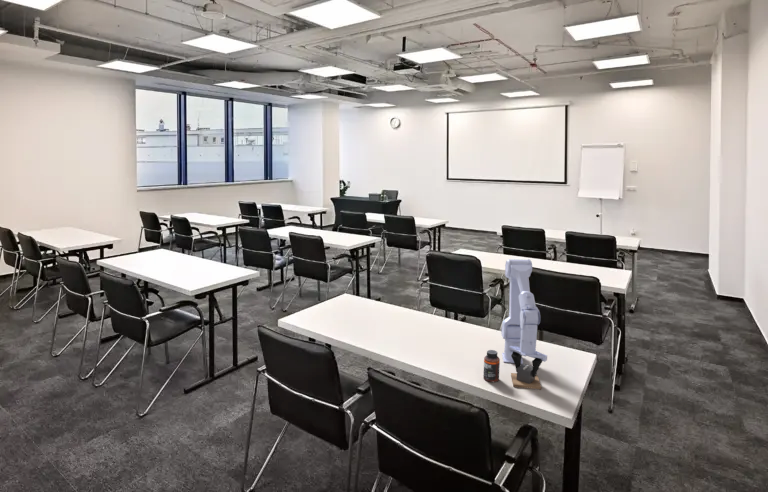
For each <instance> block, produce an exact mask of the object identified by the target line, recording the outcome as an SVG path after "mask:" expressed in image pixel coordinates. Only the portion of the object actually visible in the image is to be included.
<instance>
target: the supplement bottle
mask: <svg viewBox="0 0 768 492" xmlns="http://www.w3.org/2000/svg"><path fill="white" fill-rule="evenodd" d="M483 358H484V359H483V379H484V380H485V381H486V382H489V383H490V382H491V383H496V382H498V381H499V379H500V364H501V361H500V360H501V359H500V357H499V356H498V351H497V350H494V349H489V350H486V355H484V357H483Z"/></svg>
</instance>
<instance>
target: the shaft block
mask: <svg viewBox="0 0 768 492" xmlns="http://www.w3.org/2000/svg"><path fill="white" fill-rule="evenodd" d="M510 377H511V382H512V386H513V388H520V389H521V388H522V389H524V388H525V389H532V390H533V389H534V390H536V389H537V390H542V385H541V383H540V378H539V376H538V374H536V376H535V380H534V381H533V382H531V383H530V384H528V383H525V382H521V381H518V380H517V372H516V373H515V372H512V373H511V372H510Z"/></svg>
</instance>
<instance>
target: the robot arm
mask: <svg viewBox="0 0 768 492" xmlns="http://www.w3.org/2000/svg"><path fill="white" fill-rule="evenodd" d="M504 266H505V269H504V271H505V273H504V274H505V278H507V279H508V280H509V307H508V308H509V310H508V312H509V313H508V317H506V318H505V319H503V321H502V324H501V330H500V331H501V333H500V334H501V338H502V339H504V352H502V353H501V355H502V360H503V361H502V362H503V363H507V364H508V363H509V364H511V363H512V364H514V366H515V367H514V368H515V370H516V371H515V372H516V373H517V368H518V367H519V366H520V365H521V364H524V360H523V357H528V358H533V359H532V361H531V363H532V366H533V372H532V377H535V376H536V375H538V374H537V373H538V370H539V369H540V366H541V365H542V363H543V362H544V363H545V362H546V361H548V355H547V354H544V353H542V352H540V351H537V350H536V348H537V338H538V336H537V335H538V334H537V333H538V326H539V325H540V323H541V312H540V309H539V308H538V307H537V305H536V301H535V295H534V293H532V292H531V289H530V280H529V278H530V277H531V274H532V272H533V263H532V261H531V259H530V258H528V259H511V258H507V259H506V260H505V265H504Z"/></svg>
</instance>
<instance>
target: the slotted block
mask: <svg viewBox="0 0 768 492" xmlns="http://www.w3.org/2000/svg"><path fill="white" fill-rule="evenodd" d="M532 372H533V365H530V364H525V363H523V364H521V365H520V366H519V367H518V368H517V372H516V373H517V380H518V381H521V382H525V383H528V384H530V383H531V382H533V381H534V380H535V377H532Z"/></svg>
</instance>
